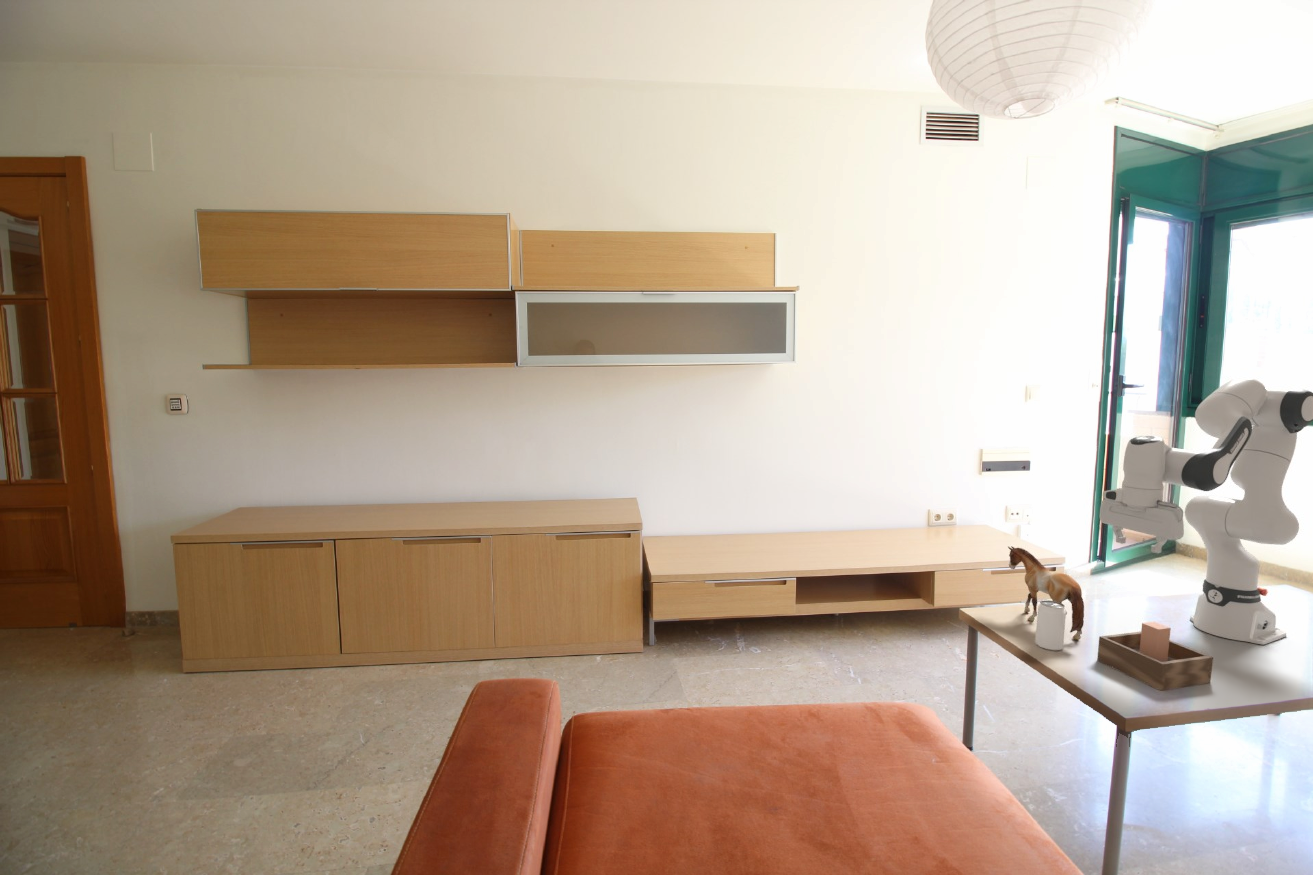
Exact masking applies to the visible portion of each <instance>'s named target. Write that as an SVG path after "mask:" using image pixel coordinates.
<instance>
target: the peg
mask: <svg viewBox="0 0 1313 875" xmlns="http://www.w3.org/2000/svg"><path fill="white" fill-rule="evenodd" d="M1140 632H1141V640H1140V650H1139V652H1140V653H1142V654H1145V655H1147V656H1149V657H1152V658H1154V659H1156V660H1158V661H1161V662H1165V661H1167V659H1168V649H1169V640H1171V639H1170V638H1171V637H1170V636H1171V627H1169V626H1167V625H1164V624H1161V623H1159V622H1156V621H1150V622H1149V621H1148V622H1142V623H1141V630H1140Z"/></svg>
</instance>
